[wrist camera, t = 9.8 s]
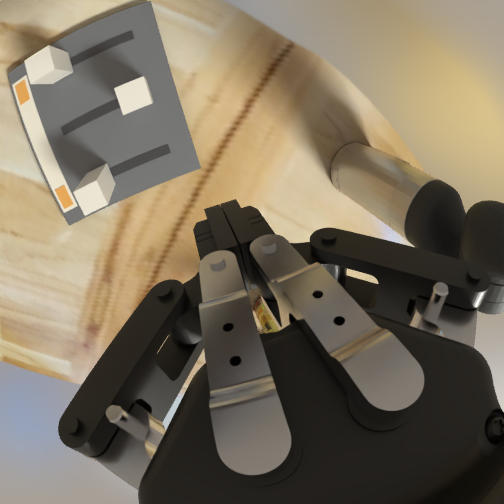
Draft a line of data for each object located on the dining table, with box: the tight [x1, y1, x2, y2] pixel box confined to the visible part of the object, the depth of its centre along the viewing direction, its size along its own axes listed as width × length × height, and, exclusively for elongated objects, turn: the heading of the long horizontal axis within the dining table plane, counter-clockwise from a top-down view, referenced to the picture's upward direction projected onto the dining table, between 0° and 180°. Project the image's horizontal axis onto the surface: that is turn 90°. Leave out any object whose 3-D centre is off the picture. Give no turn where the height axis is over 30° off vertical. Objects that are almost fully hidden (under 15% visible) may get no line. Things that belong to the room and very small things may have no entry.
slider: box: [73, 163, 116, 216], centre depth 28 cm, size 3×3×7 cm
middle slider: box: [114, 76, 153, 115], centre depth 24 cm, size 3×3×7 cm
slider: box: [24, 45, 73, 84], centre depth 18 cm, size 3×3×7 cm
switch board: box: [8, 1, 201, 225], centre depth 27 cm, size 20×24×2 cm
